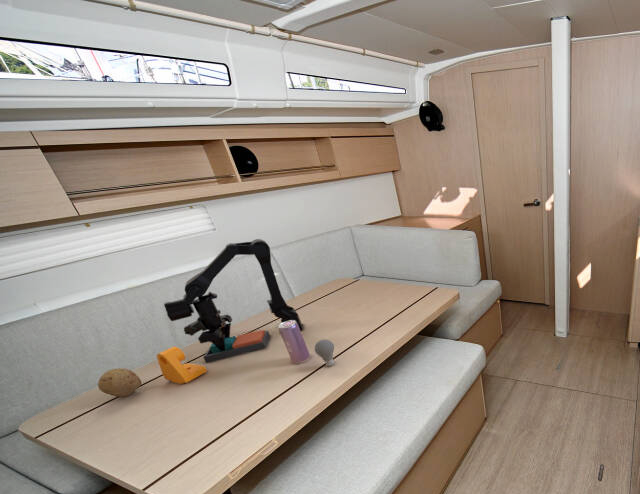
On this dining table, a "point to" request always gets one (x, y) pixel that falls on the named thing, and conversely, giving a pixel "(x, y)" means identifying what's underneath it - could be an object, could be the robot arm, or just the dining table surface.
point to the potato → (119, 382)
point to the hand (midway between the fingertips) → (225, 346)
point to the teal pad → (228, 345)
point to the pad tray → (237, 350)
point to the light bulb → (325, 351)
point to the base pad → (248, 339)
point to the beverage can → (294, 341)
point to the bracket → (178, 366)
